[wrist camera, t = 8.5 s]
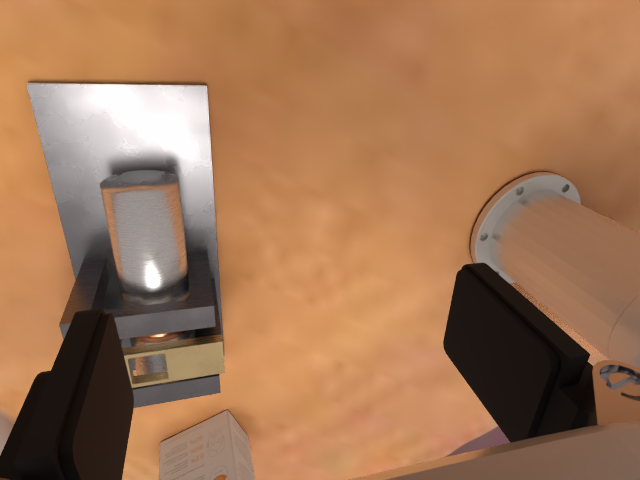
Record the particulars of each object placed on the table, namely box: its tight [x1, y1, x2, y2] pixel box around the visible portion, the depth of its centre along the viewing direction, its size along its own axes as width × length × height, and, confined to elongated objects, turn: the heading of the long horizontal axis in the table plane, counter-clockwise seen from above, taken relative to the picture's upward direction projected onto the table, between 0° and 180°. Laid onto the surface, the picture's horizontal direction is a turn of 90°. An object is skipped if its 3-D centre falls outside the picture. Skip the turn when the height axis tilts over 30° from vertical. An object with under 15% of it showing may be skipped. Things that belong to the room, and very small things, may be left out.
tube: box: [100, 170, 195, 376], centre depth 33 cm, size 18×5×5 cm, turn 177°
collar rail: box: [26, 82, 225, 408], centre depth 31 cm, size 11×25×9 cm, turn 177°
